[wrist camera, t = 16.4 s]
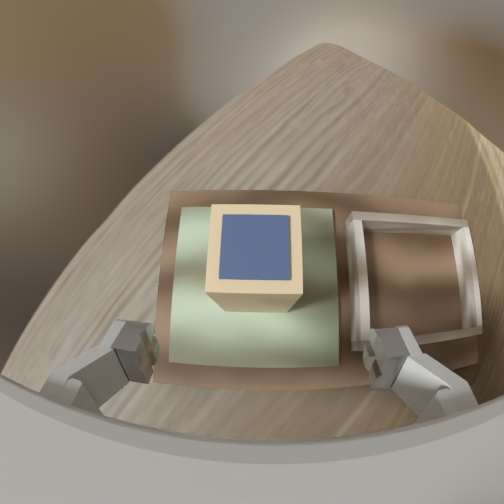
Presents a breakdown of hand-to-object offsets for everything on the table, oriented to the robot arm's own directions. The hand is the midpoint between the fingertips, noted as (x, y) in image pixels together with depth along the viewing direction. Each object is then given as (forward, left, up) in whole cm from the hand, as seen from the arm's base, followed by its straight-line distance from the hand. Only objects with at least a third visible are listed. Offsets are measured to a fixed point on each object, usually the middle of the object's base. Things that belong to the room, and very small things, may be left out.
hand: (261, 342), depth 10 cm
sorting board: (-5, -7, -14) cm, 17 cm away
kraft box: (+2, -5, -13) cm, 14 cm away
